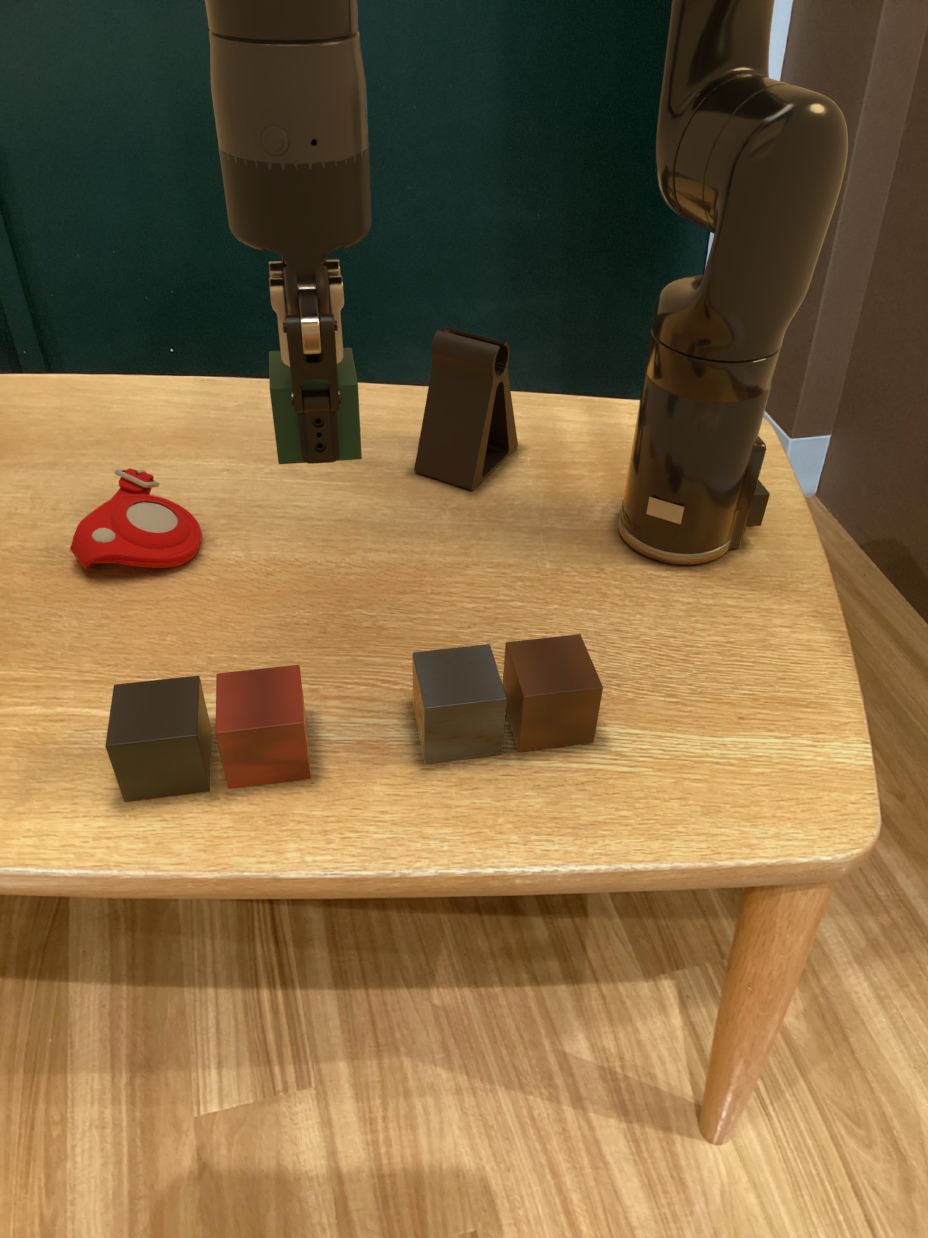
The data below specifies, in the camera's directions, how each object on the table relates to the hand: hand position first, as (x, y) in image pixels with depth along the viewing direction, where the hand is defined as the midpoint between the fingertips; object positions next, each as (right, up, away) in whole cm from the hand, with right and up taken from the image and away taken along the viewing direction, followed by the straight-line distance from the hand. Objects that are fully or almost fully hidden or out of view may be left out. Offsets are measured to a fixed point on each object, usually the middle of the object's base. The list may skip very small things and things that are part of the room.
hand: (318, 435), depth 57 cm
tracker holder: (-17, -5, +18) cm, 25 cm away
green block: (0, 0, 0) cm, 0 cm away
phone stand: (+9, +3, +28) cm, 30 cm away
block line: (+3, -19, +1) cm, 19 cm away
